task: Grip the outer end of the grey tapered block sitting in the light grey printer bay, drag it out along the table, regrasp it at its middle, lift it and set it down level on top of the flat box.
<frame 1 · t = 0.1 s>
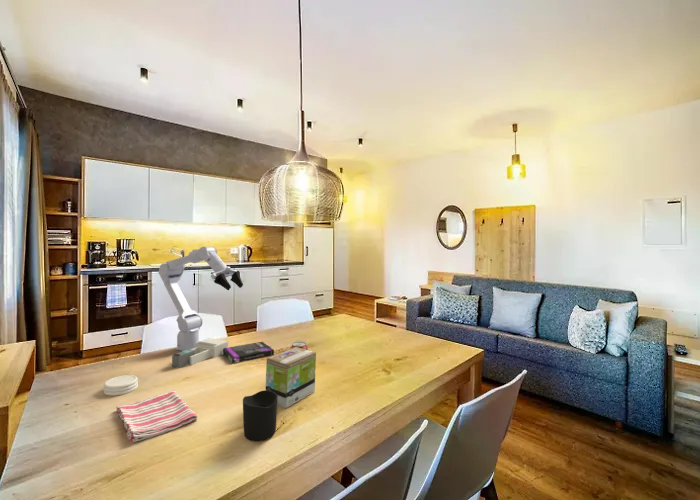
hand: (235, 287, 148), 32 cm above the table, tool tilted 50°, fingers open, 7 cm apart
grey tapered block: (183, 364, 141), on the table
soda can: (298, 373, 134), on the table
tea box: (291, 396, 115), on the table
pen holder: (260, 433, 93), on the table
box: (248, 356, 154), on the table
dish towel: (156, 418, 101), on the table
printer bay: (193, 360, 146), on the table
coaster: (121, 390, 117), on the table
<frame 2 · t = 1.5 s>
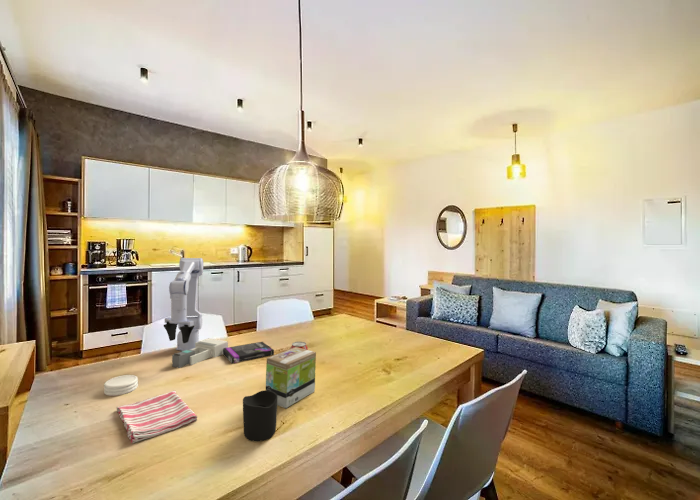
hand: (178, 341, 139), 10 cm above the table, tool pointing down, fingers open, 7 cm apart
nothing on the table moved.
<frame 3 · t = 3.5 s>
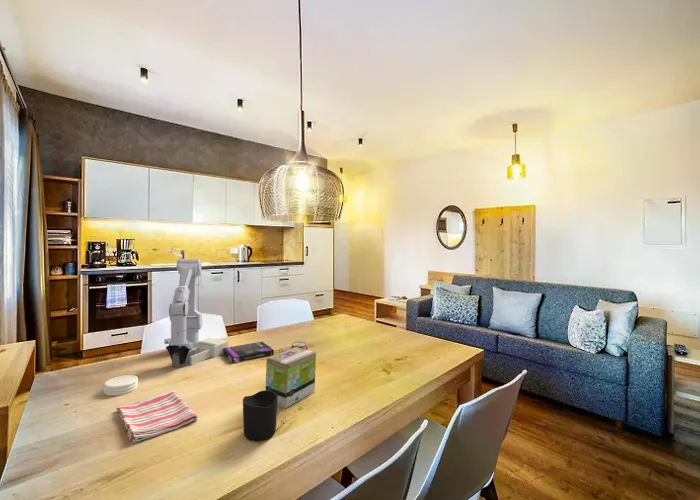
hand: (178, 362, 139), 1 cm above the table, tool pointing down, fingers closed on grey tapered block, 4 cm apart
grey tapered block: (183, 363, 141), on the table, touching gripper
everything else where it was.
when the fingers open (1 cm above the table, at t = 5.4 s): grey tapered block stays where it is, on the table.
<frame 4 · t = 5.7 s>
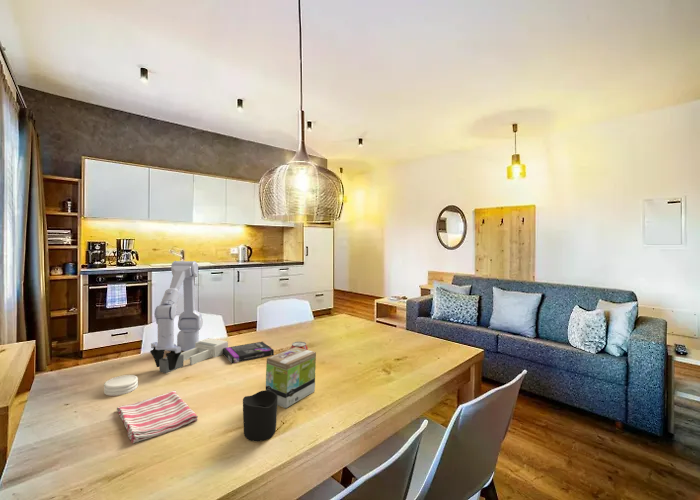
hand: (165, 367, 133), 1 cm above the table, tool pointing down, fingers open, 7 cm apart
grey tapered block: (171, 369, 136), on the table
everything else where it was.
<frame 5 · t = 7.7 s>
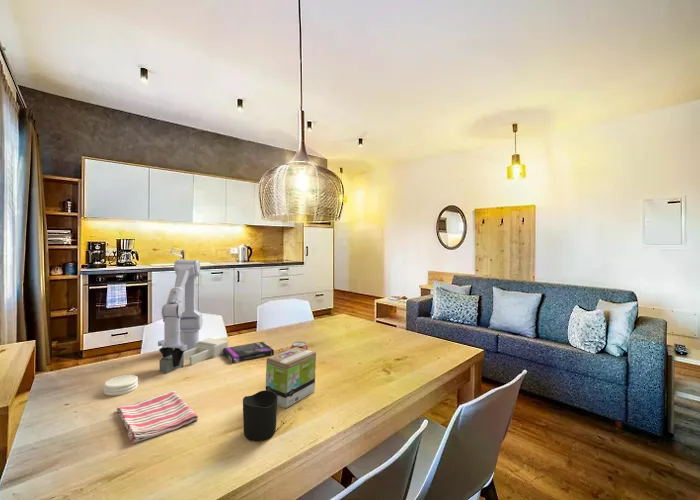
hand: (172, 365, 136), 1 cm above the table, tool pointing down, fingers closed on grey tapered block, 4 cm apart
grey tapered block: (171, 368, 136), on the table, touching gripper
everything else where it was.
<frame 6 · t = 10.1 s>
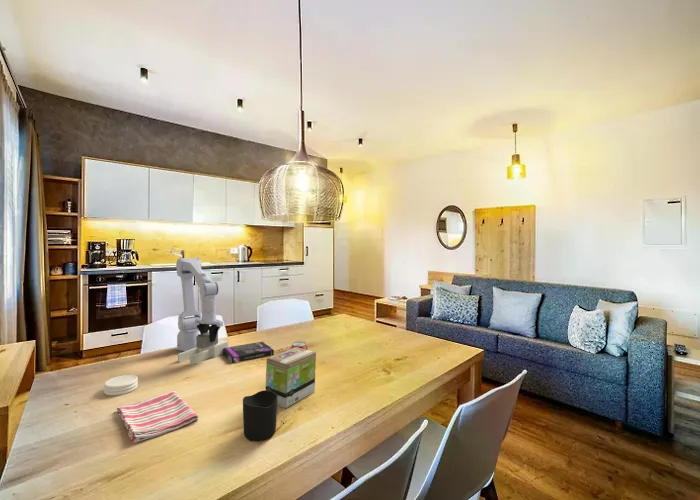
hand: (208, 340, 145), 9 cm above the table, tool pointing down, fingers closed on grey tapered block, 4 cm apart
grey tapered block: (207, 345, 144), point 7 cm above the table, touching gripper
everything else where it was.
when the fingers open (6 cm above the table, at t = 12.4 s): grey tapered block drops 1 cm, resting on box.
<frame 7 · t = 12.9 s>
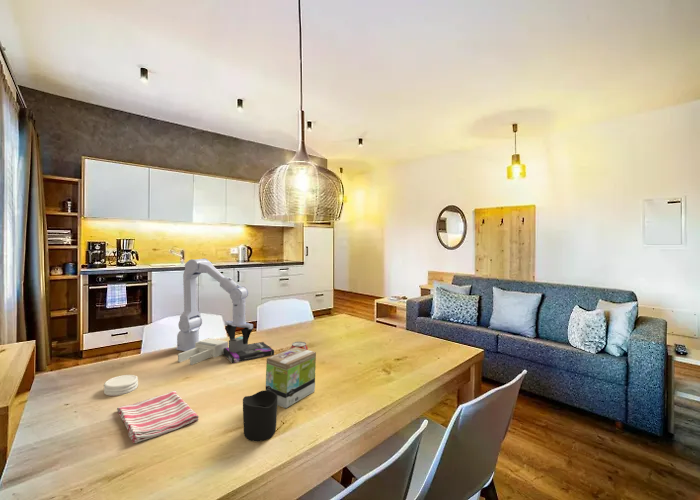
hand: (238, 342, 154), 6 cm above the table, tool pointing down, fingers open, 7 cm apart
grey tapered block: (238, 349, 153), point 3 cm above the table, touching box
box: (248, 356, 154), on the table, touching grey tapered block
everything else where it was.
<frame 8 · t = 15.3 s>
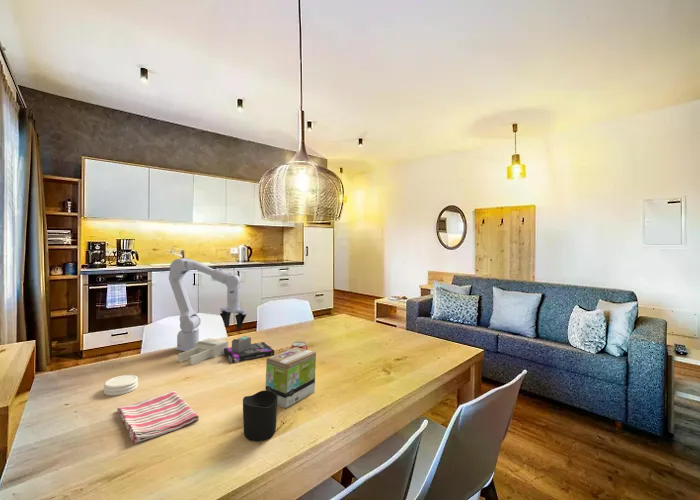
hand: (233, 327, 161), 10 cm above the table, tool pointing down, fingers open, 7 cm apart
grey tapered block: (241, 349, 153), point 3 cm above the table, touching box
everything else where it was.
at the end: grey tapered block inside the target area on the box (3.4 cm from its centre), point 3.5 cm above the box's base; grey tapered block tilted 0°; the gripper is holding nothing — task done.
